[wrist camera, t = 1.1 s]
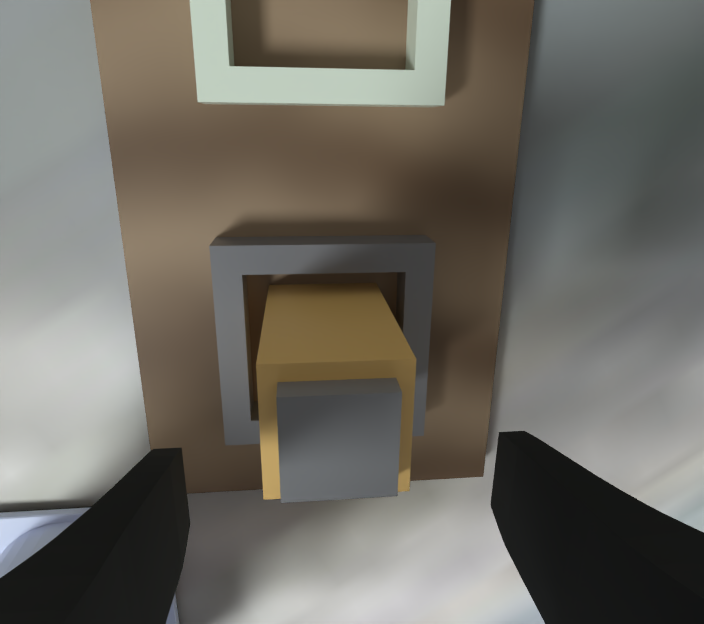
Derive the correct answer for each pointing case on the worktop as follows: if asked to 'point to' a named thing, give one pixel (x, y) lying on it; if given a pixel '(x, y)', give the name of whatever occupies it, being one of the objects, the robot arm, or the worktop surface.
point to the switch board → (310, 199)
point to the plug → (333, 394)
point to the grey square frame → (312, 258)
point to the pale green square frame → (322, 83)
